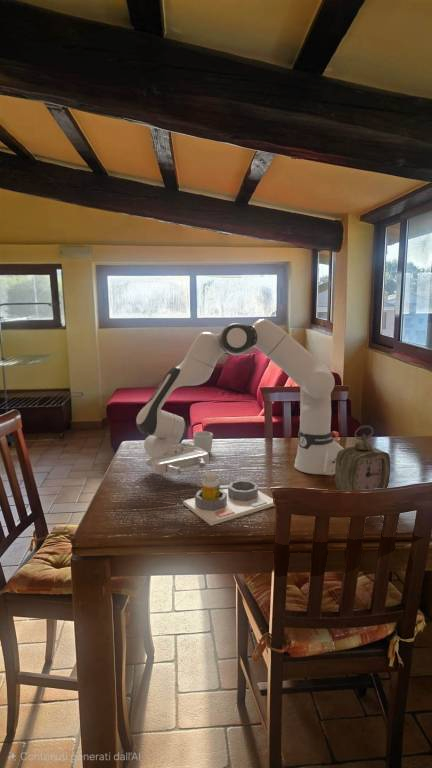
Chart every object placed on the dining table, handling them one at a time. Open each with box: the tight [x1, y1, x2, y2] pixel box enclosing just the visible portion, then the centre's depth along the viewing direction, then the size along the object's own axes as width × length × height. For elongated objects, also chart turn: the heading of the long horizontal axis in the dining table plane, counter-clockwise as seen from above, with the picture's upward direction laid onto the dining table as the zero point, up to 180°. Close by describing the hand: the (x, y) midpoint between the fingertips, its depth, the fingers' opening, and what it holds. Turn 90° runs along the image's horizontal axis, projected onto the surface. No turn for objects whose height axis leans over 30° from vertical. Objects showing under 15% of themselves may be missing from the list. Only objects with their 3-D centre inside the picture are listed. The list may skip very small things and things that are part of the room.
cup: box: [192, 430, 214, 454], centre depth 192 cm, size 11×8×8 cm
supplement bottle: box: [201, 471, 221, 500], centre depth 141 cm, size 5×5×10 cm
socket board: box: [182, 479, 274, 526], centre depth 143 cm, size 24×16×4 cm, turn 123°
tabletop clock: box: [334, 425, 391, 491], centre depth 142 cm, size 14×9×25 cm, turn 114°
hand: (191, 468), depth 150 cm, fingers open, 8 cm apart
